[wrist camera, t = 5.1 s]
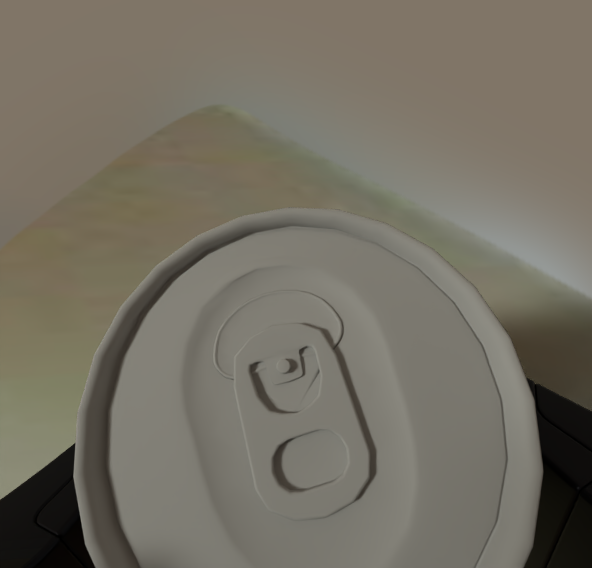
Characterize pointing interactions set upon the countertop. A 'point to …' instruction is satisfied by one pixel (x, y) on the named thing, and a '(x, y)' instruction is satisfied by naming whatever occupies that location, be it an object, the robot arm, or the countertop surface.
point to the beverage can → (307, 408)
